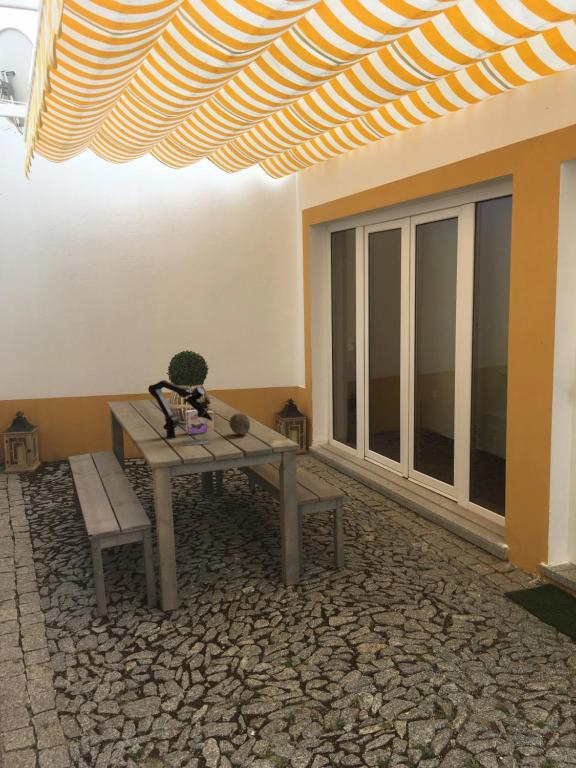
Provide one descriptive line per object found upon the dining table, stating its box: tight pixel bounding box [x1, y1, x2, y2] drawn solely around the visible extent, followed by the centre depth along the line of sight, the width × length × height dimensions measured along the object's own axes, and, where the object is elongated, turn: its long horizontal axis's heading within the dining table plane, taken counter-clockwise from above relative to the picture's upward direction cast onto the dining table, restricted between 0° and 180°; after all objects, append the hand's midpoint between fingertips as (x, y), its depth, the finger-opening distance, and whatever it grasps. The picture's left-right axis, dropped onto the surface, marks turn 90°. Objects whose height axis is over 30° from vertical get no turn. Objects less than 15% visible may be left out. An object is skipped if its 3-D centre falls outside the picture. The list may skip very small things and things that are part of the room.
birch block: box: [206, 410, 215, 431], centre depth 432 cm, size 4×4×12 cm
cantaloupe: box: [228, 413, 251, 436], centre depth 442 cm, size 14×14×15 cm
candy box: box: [184, 409, 208, 435], centre depth 451 cm, size 14×6×16 cm, turn 112°
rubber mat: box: [181, 438, 211, 447], centre depth 424 cm, size 14×18×1 cm
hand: (212, 419), depth 432 cm, fingers closed on birch block, 5 cm apart
